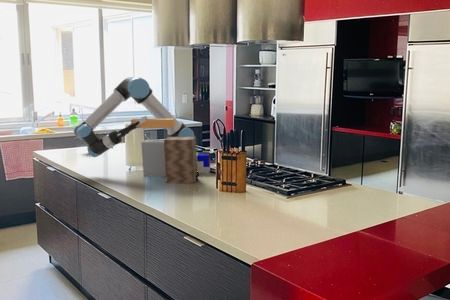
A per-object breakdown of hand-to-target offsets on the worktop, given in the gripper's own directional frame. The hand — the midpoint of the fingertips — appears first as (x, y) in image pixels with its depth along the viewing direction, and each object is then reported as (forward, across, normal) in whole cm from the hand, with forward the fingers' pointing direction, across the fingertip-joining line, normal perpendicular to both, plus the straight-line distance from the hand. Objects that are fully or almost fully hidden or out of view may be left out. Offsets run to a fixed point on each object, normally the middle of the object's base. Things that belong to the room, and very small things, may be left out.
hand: (145, 118), depth 265 cm
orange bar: (+1, 0, -6) cm, 6 cm away
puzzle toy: (+9, -8, -42) cm, 44 cm away
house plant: (-68, -64, +2) cm, 93 cm away
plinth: (-11, 0, -31) cm, 32 cm away
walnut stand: (+4, +15, -39) cm, 42 cm away
